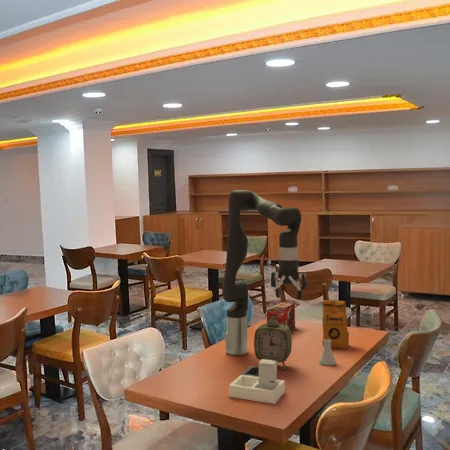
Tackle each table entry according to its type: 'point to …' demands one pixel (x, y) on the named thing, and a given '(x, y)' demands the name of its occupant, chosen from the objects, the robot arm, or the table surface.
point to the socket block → (251, 371)
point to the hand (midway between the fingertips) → (288, 298)
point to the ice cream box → (283, 314)
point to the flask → (327, 354)
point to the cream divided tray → (255, 390)
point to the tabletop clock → (273, 341)
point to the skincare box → (267, 374)
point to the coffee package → (335, 323)
